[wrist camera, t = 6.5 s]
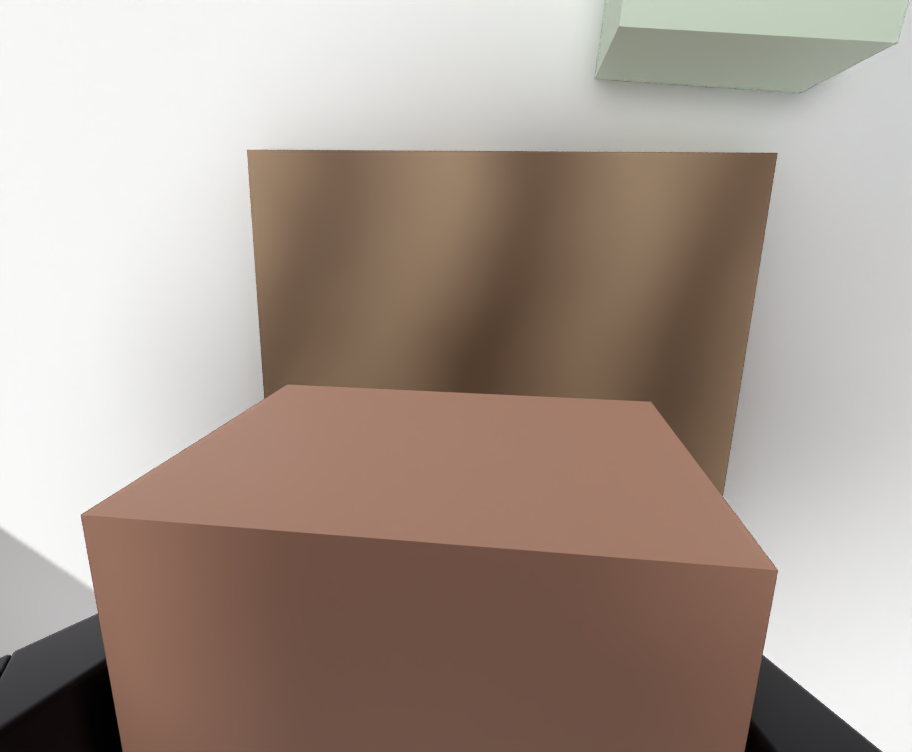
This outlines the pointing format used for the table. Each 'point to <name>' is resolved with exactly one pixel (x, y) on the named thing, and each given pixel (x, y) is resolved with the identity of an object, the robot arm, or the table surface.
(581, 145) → the table surface
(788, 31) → the sage brick
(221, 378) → the table surface
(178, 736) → the terracotta brick
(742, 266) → the board
